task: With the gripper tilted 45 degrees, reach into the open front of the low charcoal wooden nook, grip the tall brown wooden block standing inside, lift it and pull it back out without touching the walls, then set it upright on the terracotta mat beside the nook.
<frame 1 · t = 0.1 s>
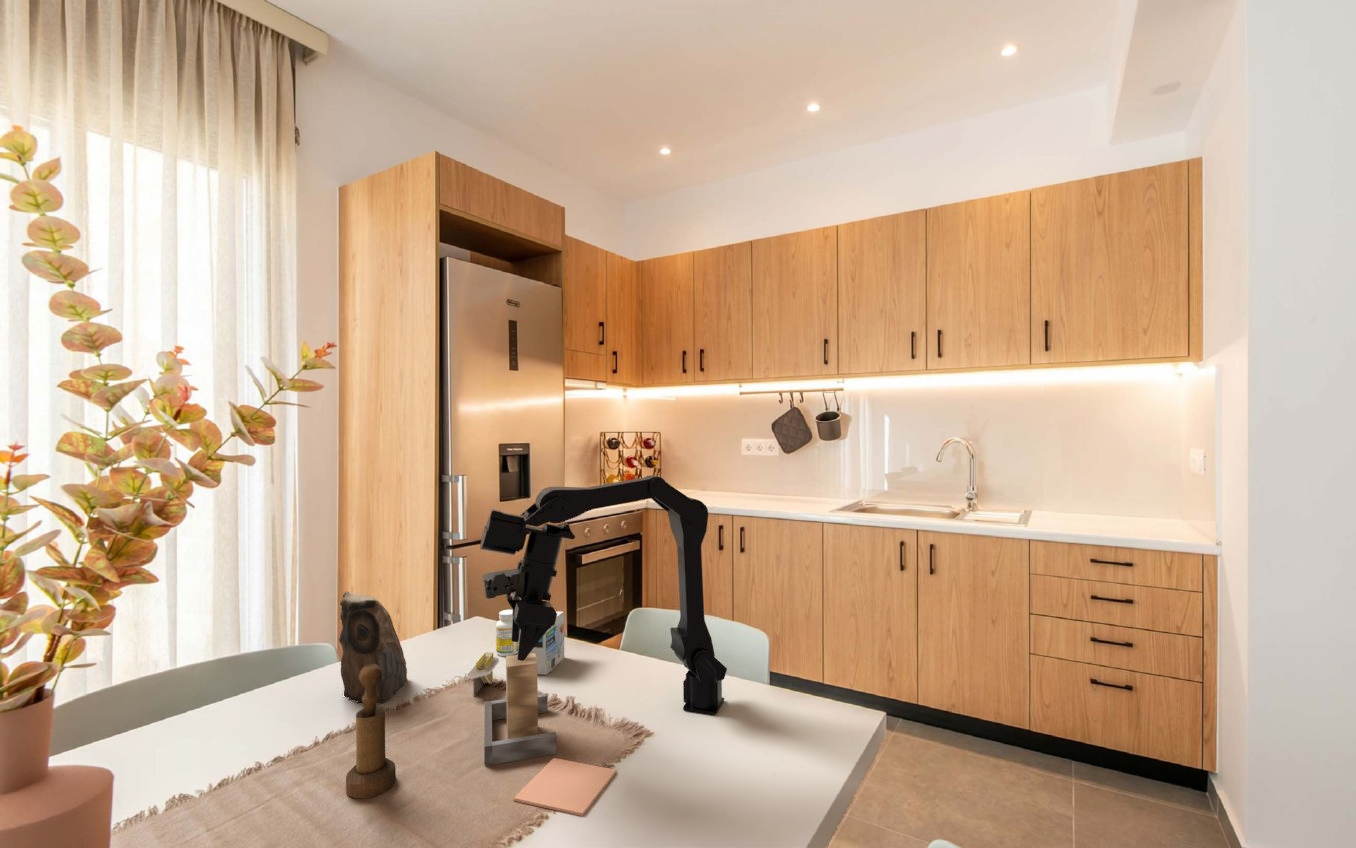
hand: (517, 650, 103), 15 cm above the table, tool pointing down, fingers open, 9 cm apart
platform: (484, 691, 124), on the table, touching light bulb box
nook: (522, 734, 105), on the table
mortar and pestle: (371, 787, 91), on the table
supplement bottle: (508, 653, 144), on the table
light bulb box: (542, 666, 136), on the table, touching platform
mat: (567, 786, 90), on the table
block: (521, 697, 105), in the nook
owl: (378, 692, 124), on the table
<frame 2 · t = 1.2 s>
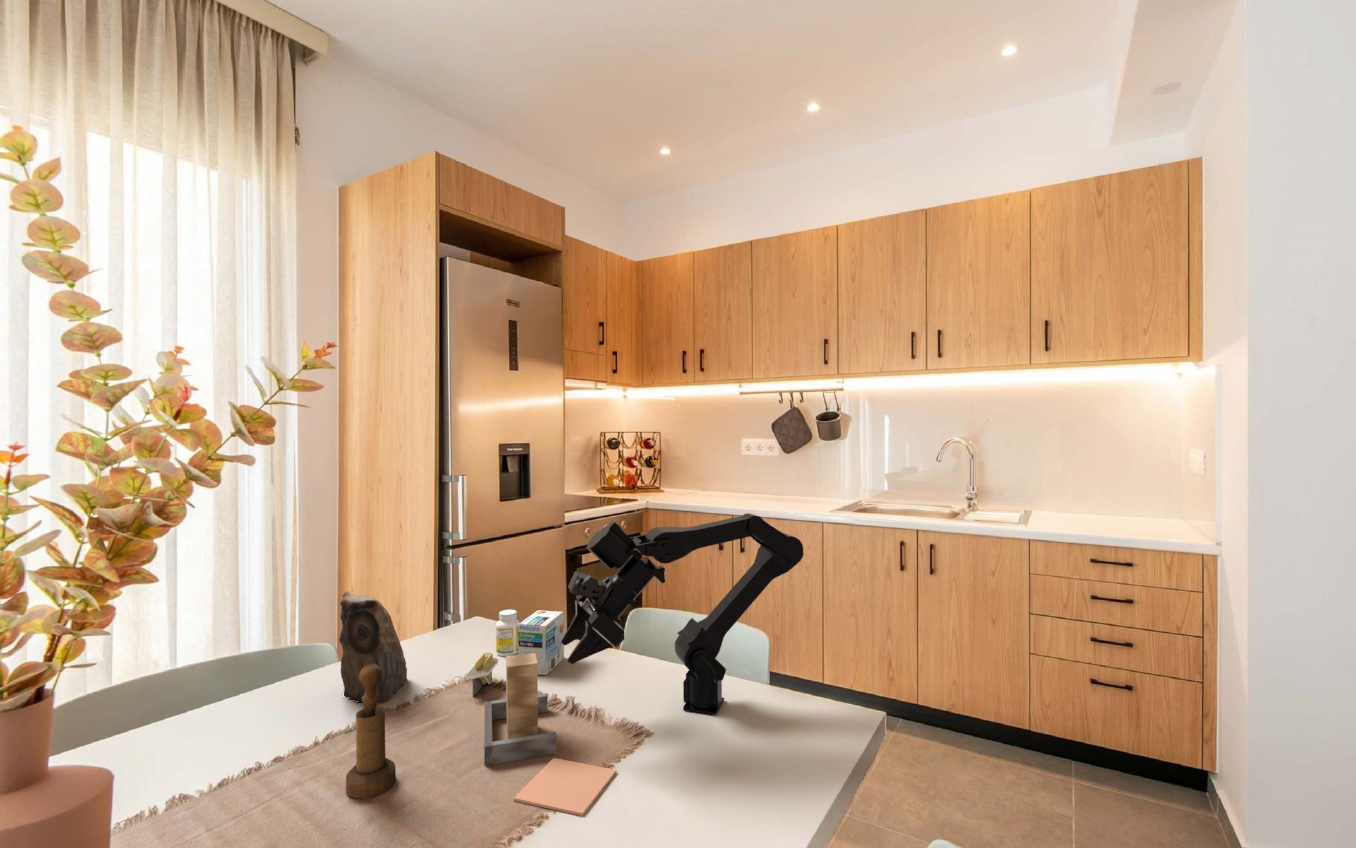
hand: (566, 652, 108), 13 cm above the table, tool tilted 45°, fingers open, 9 cm apart
nothing on the table moved.
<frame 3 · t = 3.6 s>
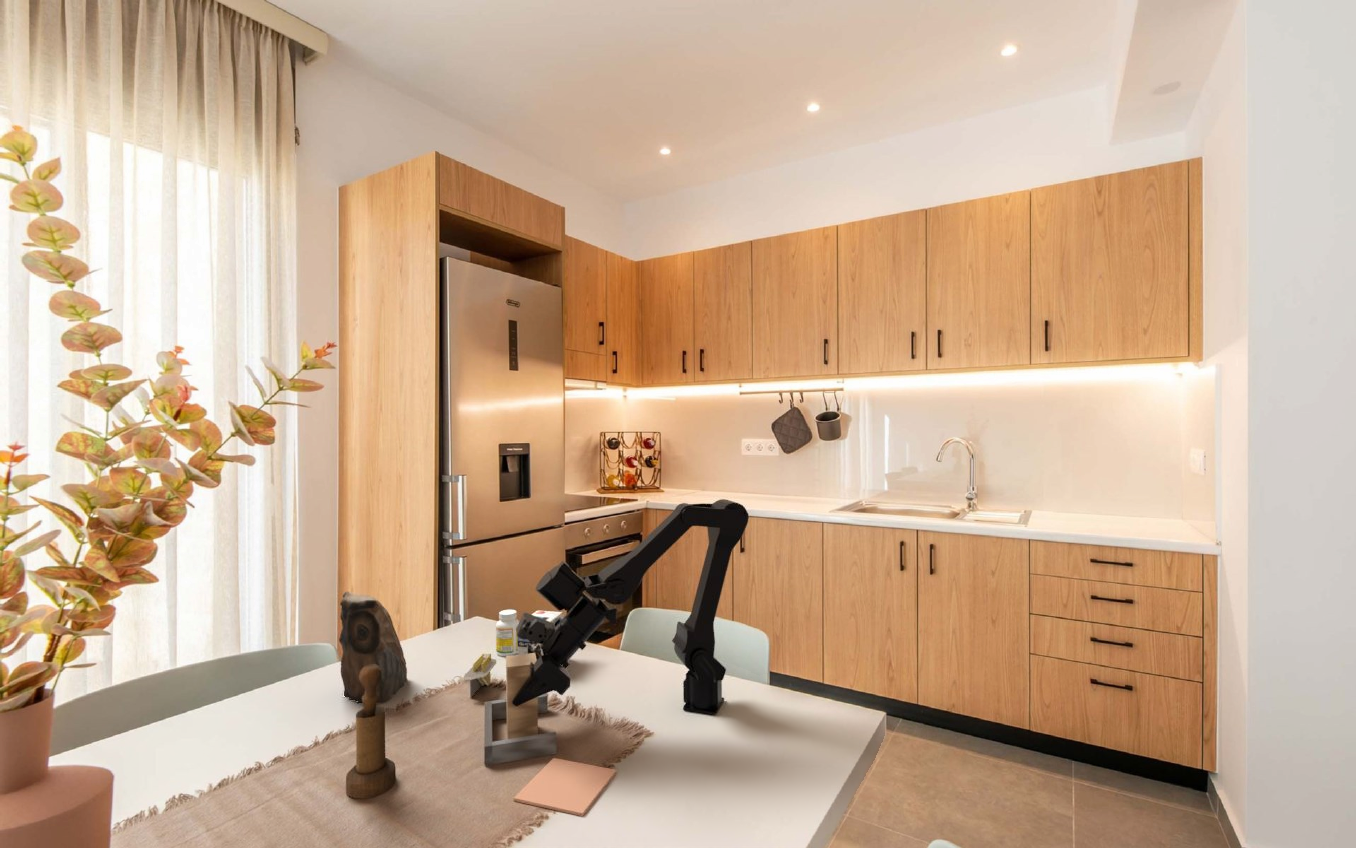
hand: (513, 697, 105), 7 cm above the table, tool tilted 45°, fingers closed on block, 5 cm apart
block: (521, 697, 105), in the nook, touching gripper
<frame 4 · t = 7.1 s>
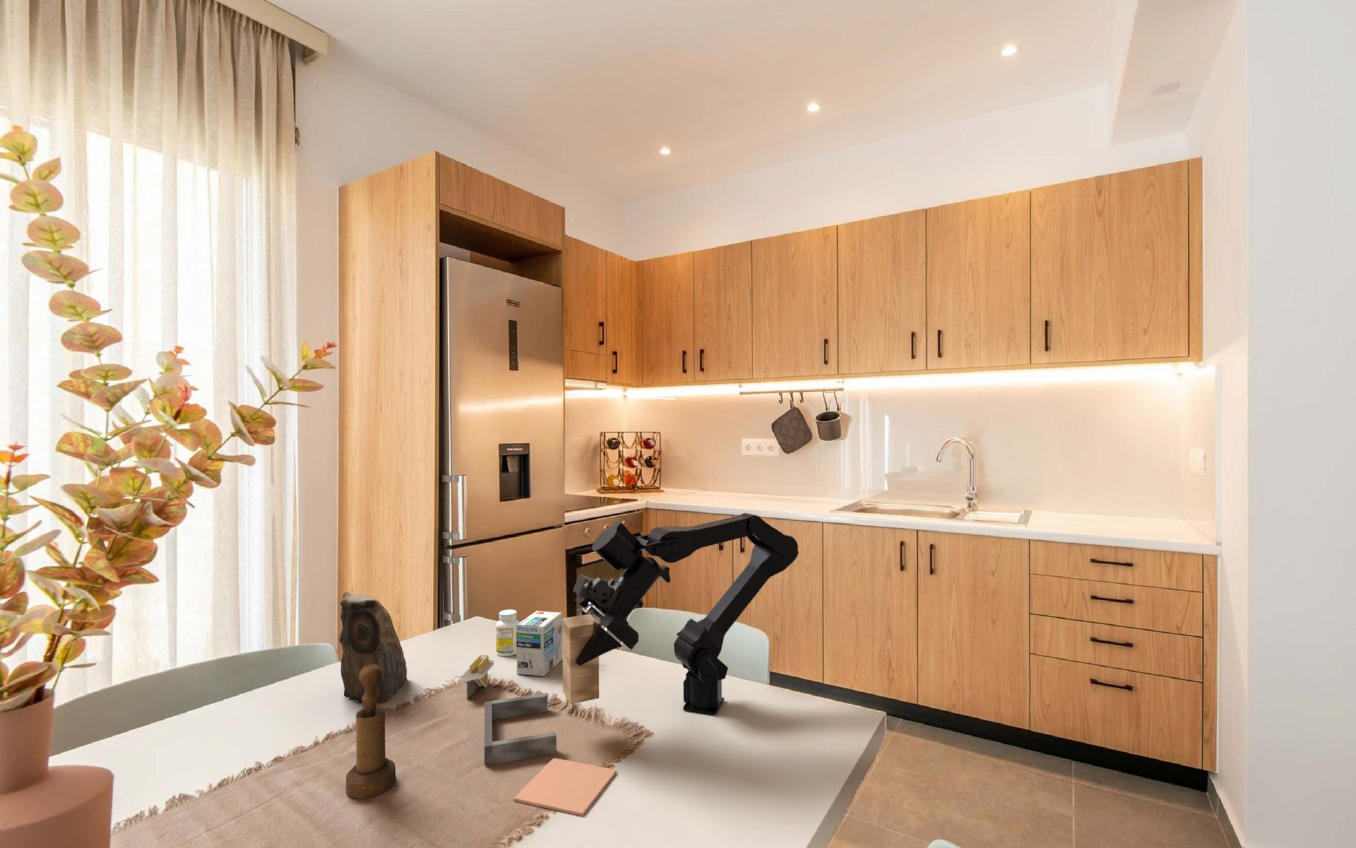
hand: (572, 658, 104), 14 cm above the table, tool tilted 45°, fingers closed on block, 5 cm apart
platform: (479, 694, 123), on the table
light bulb box: (540, 667, 135), on the table
block: (580, 658, 105), point 13 cm above the table, touching gripper
everything else where it was.
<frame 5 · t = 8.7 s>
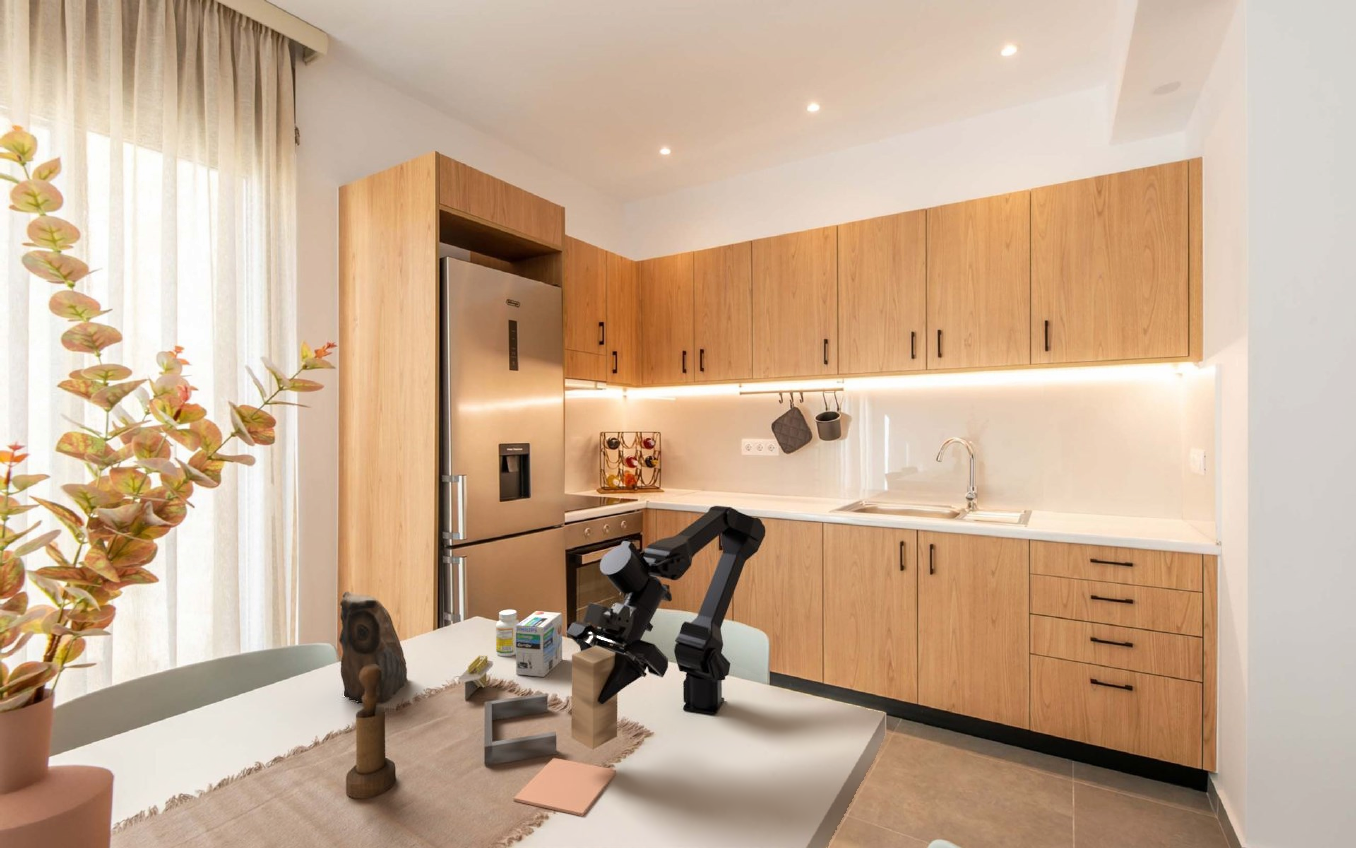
hand: (587, 697, 93), 12 cm above the table, tool tilted 45°, fingers closed on block, 5 cm apart
block: (594, 695, 94), point 12 cm above the table, touching gripper
when the fingers open (8 cm above the table, at t = 10.2 s): block stays where it is, resting on mat.
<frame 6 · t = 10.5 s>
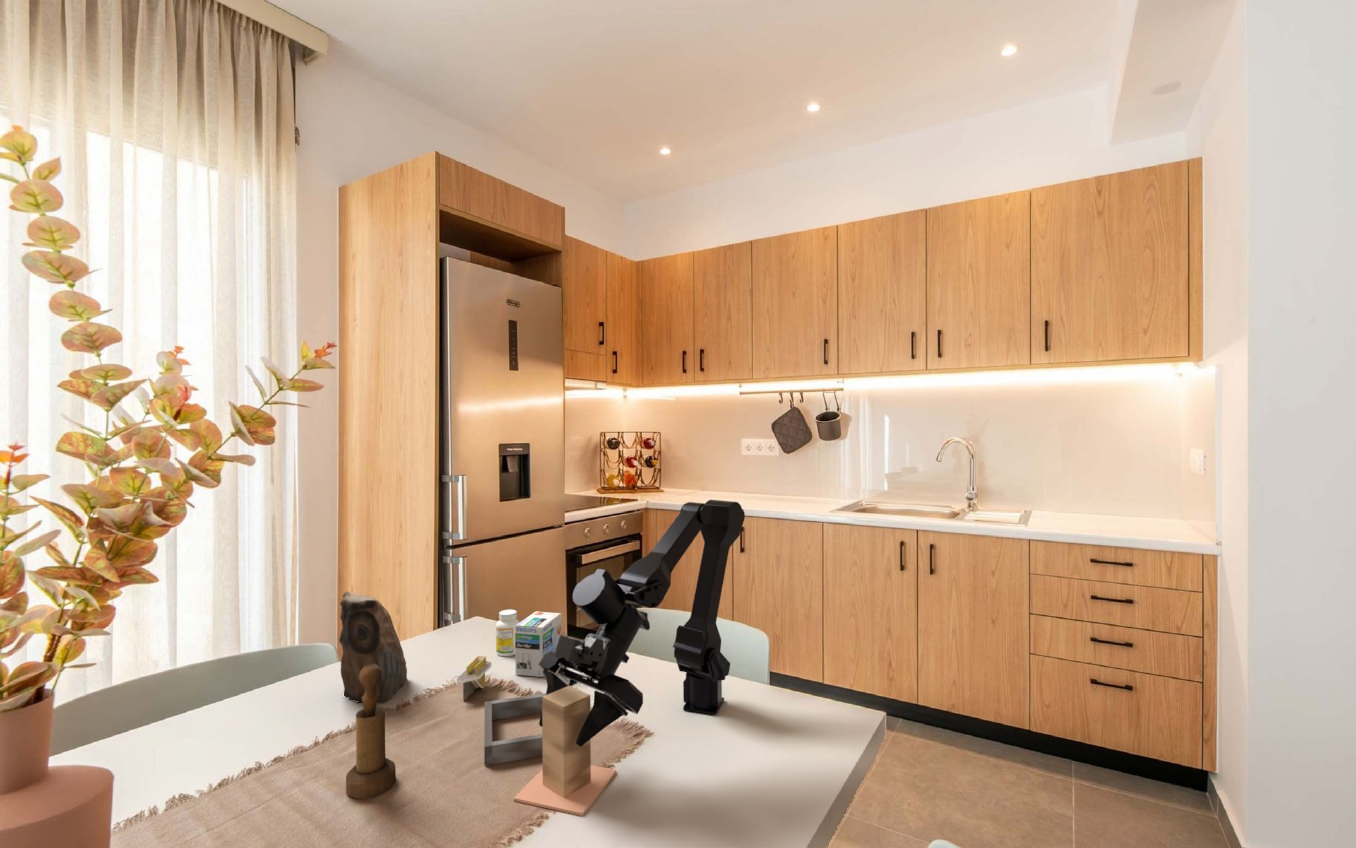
hand: (559, 735, 89), 8 cm above the table, tool tilted 45°, fingers open, 8 cm apart
block: (566, 739, 90), on the mat
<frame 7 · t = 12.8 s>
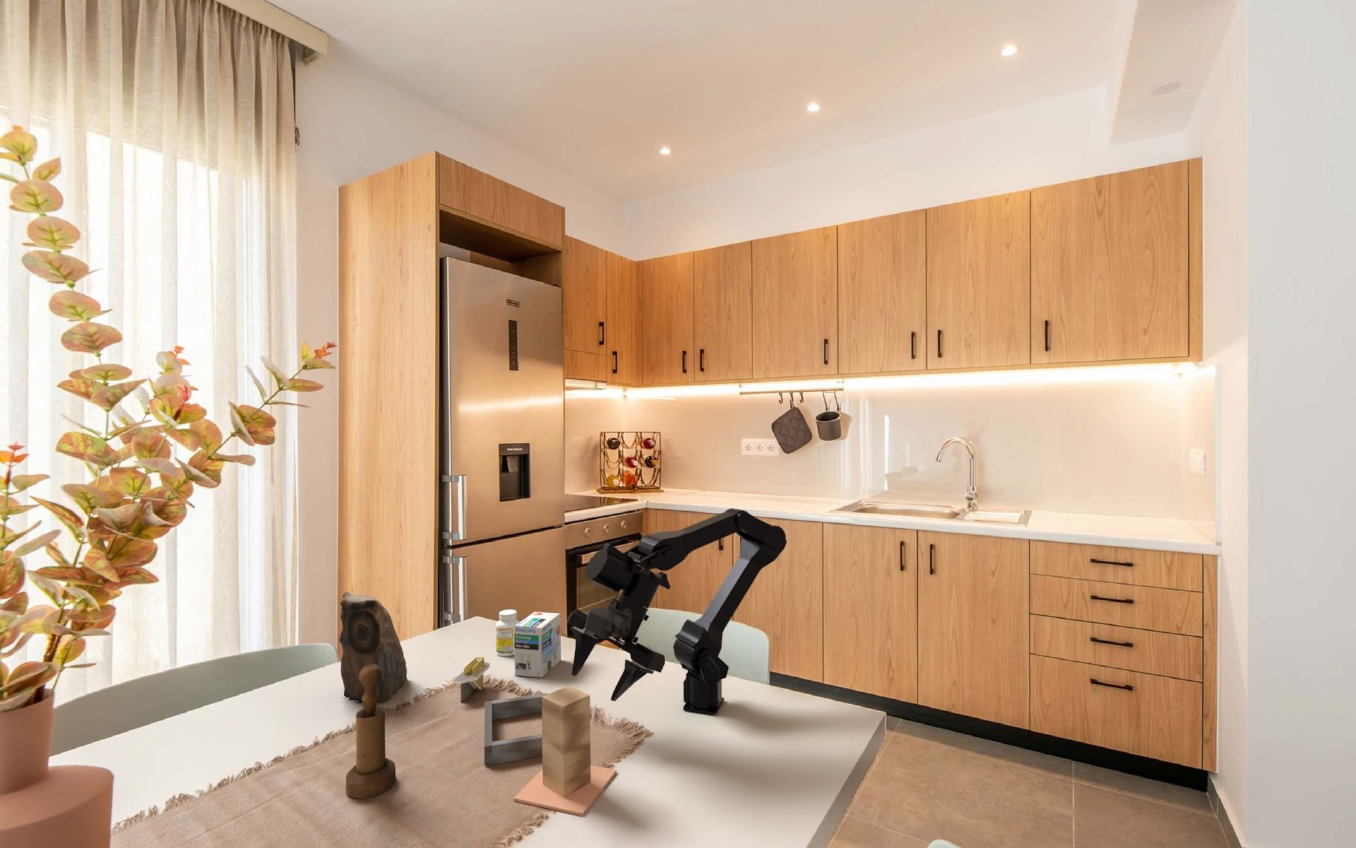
hand: (592, 687, 104), 9 cm above the table, tool tilted 30°, fingers open, 9 cm apart
platform: (473, 696, 122), on the table, touching light bulb box
light bulb box: (538, 668, 135), on the table, touching platform
everything else where it was.
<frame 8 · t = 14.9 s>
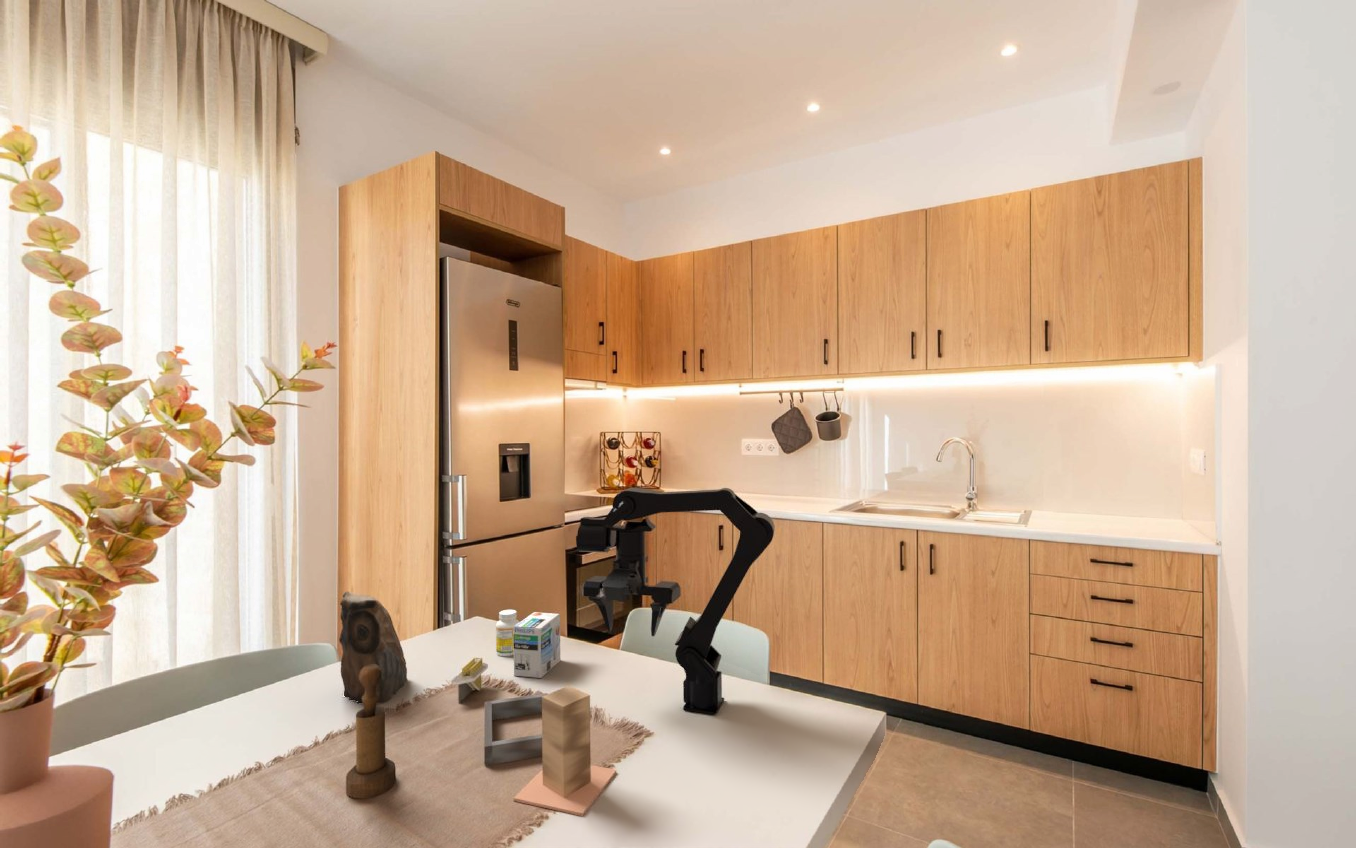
hand: (631, 633, 118), 13 cm above the table, tool pointing down, fingers open, 9 cm apart
platform: (472, 697, 121), on the table
light bulb box: (537, 669, 135), on the table
everything else where it was.
at the end: block inside the target area on the mat (0.0 cm from its centre), point 6.9 cm above the mat's base; block tilted 0°; the gripper is holding nothing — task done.
